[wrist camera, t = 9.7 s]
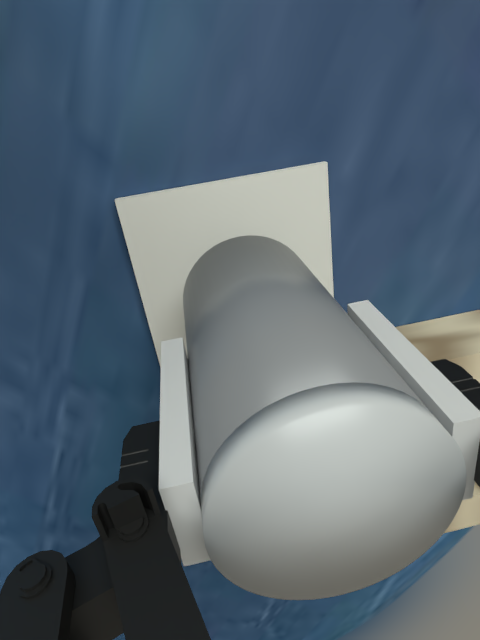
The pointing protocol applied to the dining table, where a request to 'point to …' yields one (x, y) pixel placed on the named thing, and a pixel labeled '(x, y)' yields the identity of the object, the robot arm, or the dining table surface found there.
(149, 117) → the dining table surface
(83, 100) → the dining table surface
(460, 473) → the grey domed cylinder
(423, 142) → the dining table surface
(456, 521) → the housing
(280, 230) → the pad
